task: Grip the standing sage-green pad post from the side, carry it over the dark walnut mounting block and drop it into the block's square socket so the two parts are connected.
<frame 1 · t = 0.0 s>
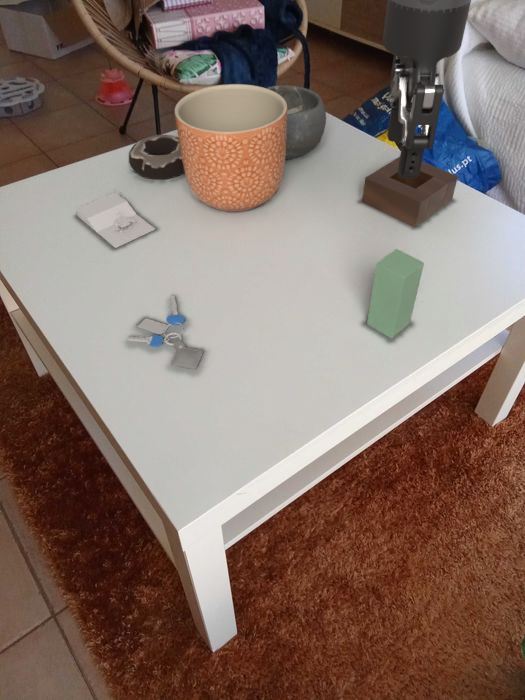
hand: (401, 157, 64), 20 cm above the table, tool pointing down, fingers open, 8 cm apart
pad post: (388, 323, 74), on the table
planter: (236, 196, 96), on the table
key chain: (161, 340, 73), on the table
donut: (163, 167, 103), on the table
mount block: (406, 201, 94), on the table
bowl: (283, 153, 106), on the table
small white envelope: (116, 223, 91), on the table
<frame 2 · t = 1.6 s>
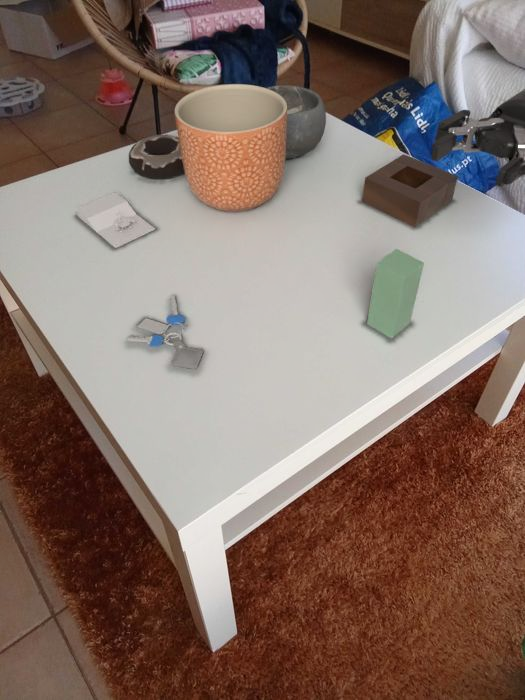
hand: (466, 165, 66), 18 cm above the table, tool horizontal, fingers open, 8 cm apart
nothing on the table moved.
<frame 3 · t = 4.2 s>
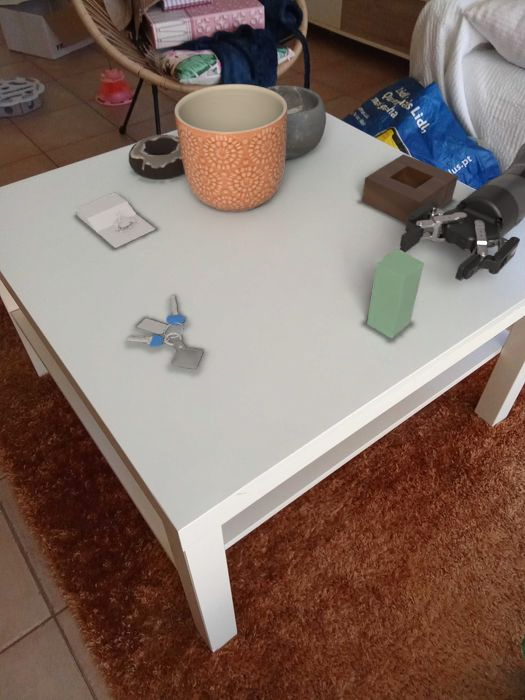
hand: (430, 259, 73), 6 cm above the table, tool horizontal, fingers open, 8 cm apart
nothing on the table moved.
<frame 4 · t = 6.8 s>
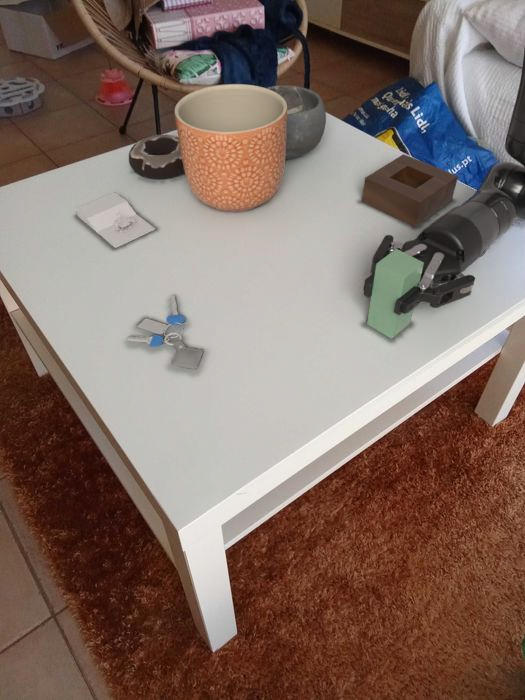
hand: (381, 299, 68), 6 cm above the table, tool horizontal, fingers closed on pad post, 4 cm apart
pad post: (388, 323, 74), on the table, touching gripper
everything else where it was.
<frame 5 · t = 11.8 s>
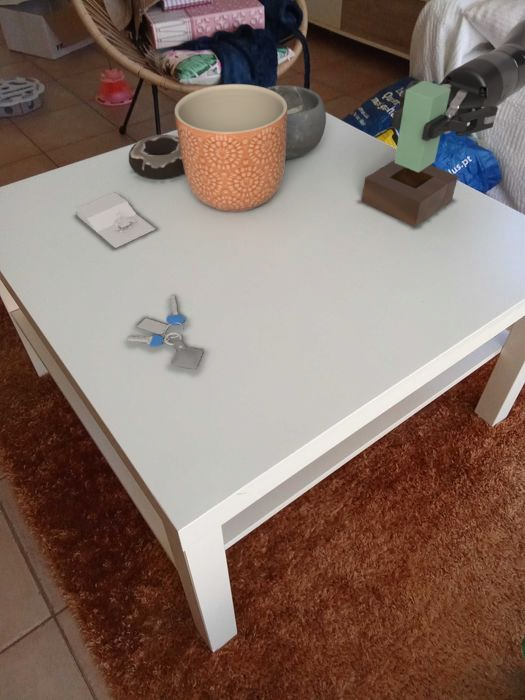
hand: (410, 127, 73), 18 cm above the table, tool horizontal, fingers closed on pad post, 4 cm apart
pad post: (414, 162, 79), point 12 cm above the table, touching gripper
everything else where it was.
when the fingers open (7 cm above the table, at t = 16.6 s): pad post stays where it is, resting in mount block.
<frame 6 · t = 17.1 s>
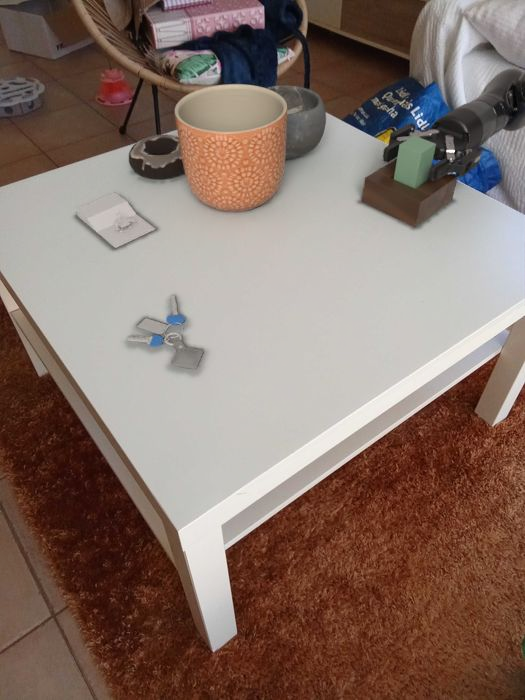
hand: (407, 165, 87), 7 cm above the table, tool horizontal, fingers open, 8 cm apart
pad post: (406, 201, 94), resting in mount block
everything else where it was.
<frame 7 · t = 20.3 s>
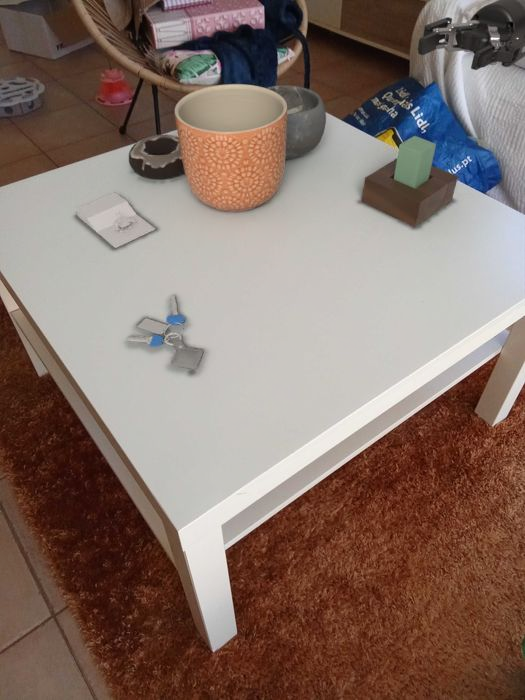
hand: (447, 54, 78), 22 cm above the table, tool horizontal, fingers open, 8 cm apart
nothing on the table moved.
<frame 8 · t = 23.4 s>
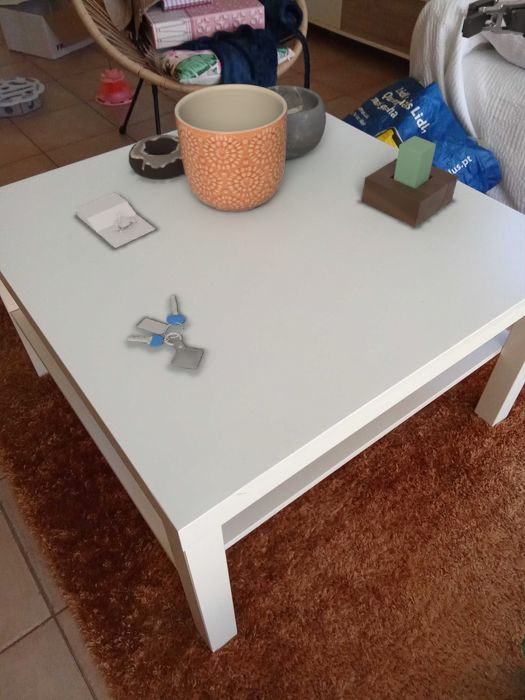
hand: (497, 37, 67), 28 cm above the table, tool horizontal, fingers open, 8 cm apart
nothing on the table moved.
at the end: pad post 0.0 cm off-centre in the mount block, point 0.0 cm above the mount block's base; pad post tilted 0°; the gripper is holding nothing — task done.
